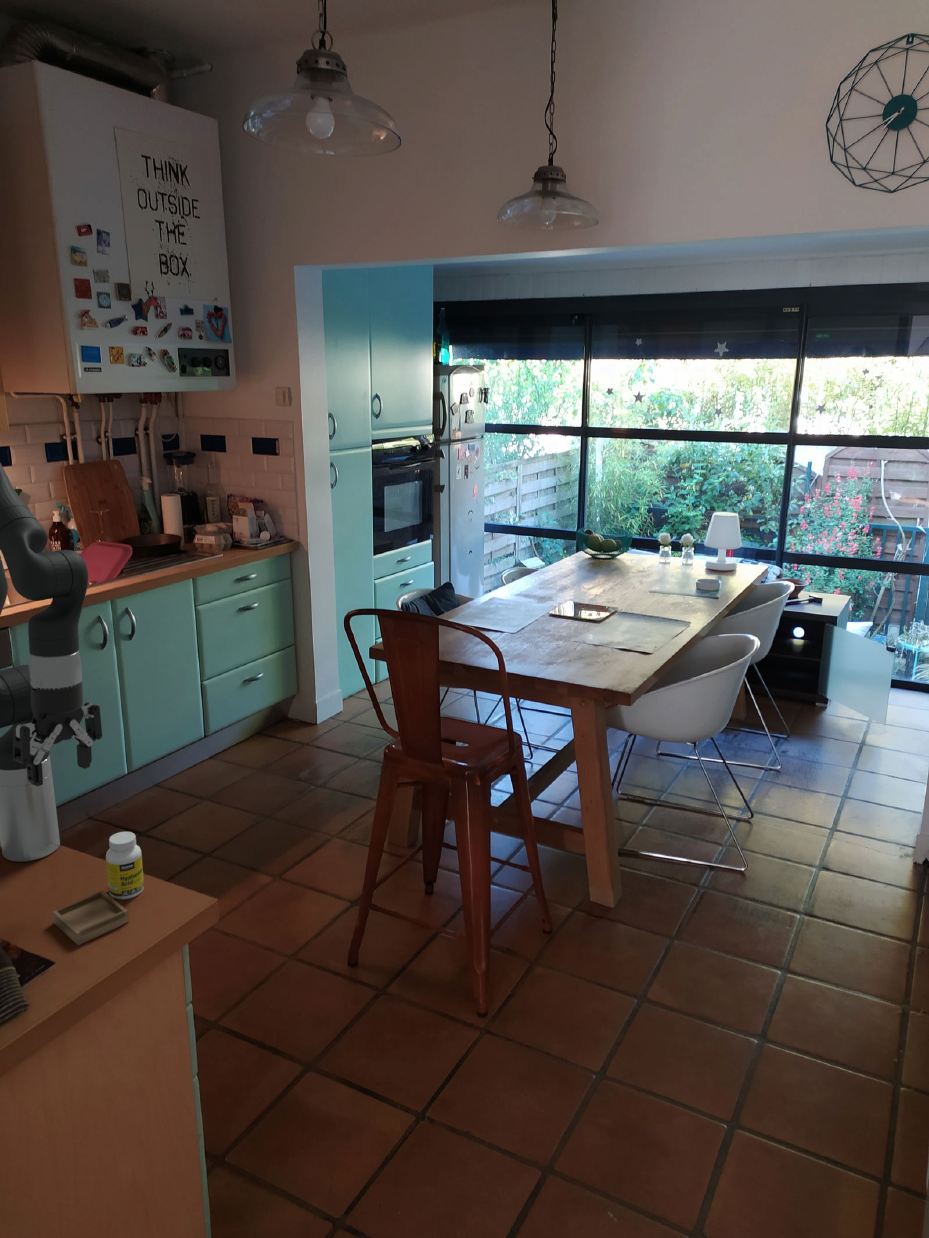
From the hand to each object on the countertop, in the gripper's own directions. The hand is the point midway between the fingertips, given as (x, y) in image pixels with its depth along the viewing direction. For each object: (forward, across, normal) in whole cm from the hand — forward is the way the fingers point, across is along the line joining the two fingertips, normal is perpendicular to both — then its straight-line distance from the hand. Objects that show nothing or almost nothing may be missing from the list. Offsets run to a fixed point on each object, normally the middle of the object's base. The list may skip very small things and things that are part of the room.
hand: (60, 775), depth 146 cm
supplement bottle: (+19, -4, +10) cm, 22 cm away
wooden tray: (+19, +5, +12) cm, 23 cm away
